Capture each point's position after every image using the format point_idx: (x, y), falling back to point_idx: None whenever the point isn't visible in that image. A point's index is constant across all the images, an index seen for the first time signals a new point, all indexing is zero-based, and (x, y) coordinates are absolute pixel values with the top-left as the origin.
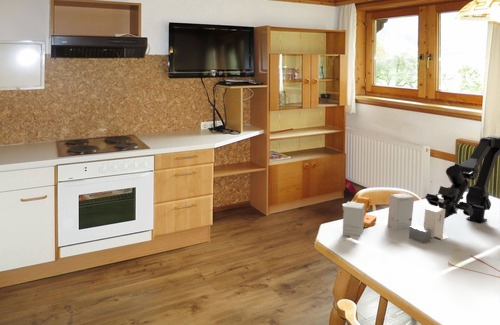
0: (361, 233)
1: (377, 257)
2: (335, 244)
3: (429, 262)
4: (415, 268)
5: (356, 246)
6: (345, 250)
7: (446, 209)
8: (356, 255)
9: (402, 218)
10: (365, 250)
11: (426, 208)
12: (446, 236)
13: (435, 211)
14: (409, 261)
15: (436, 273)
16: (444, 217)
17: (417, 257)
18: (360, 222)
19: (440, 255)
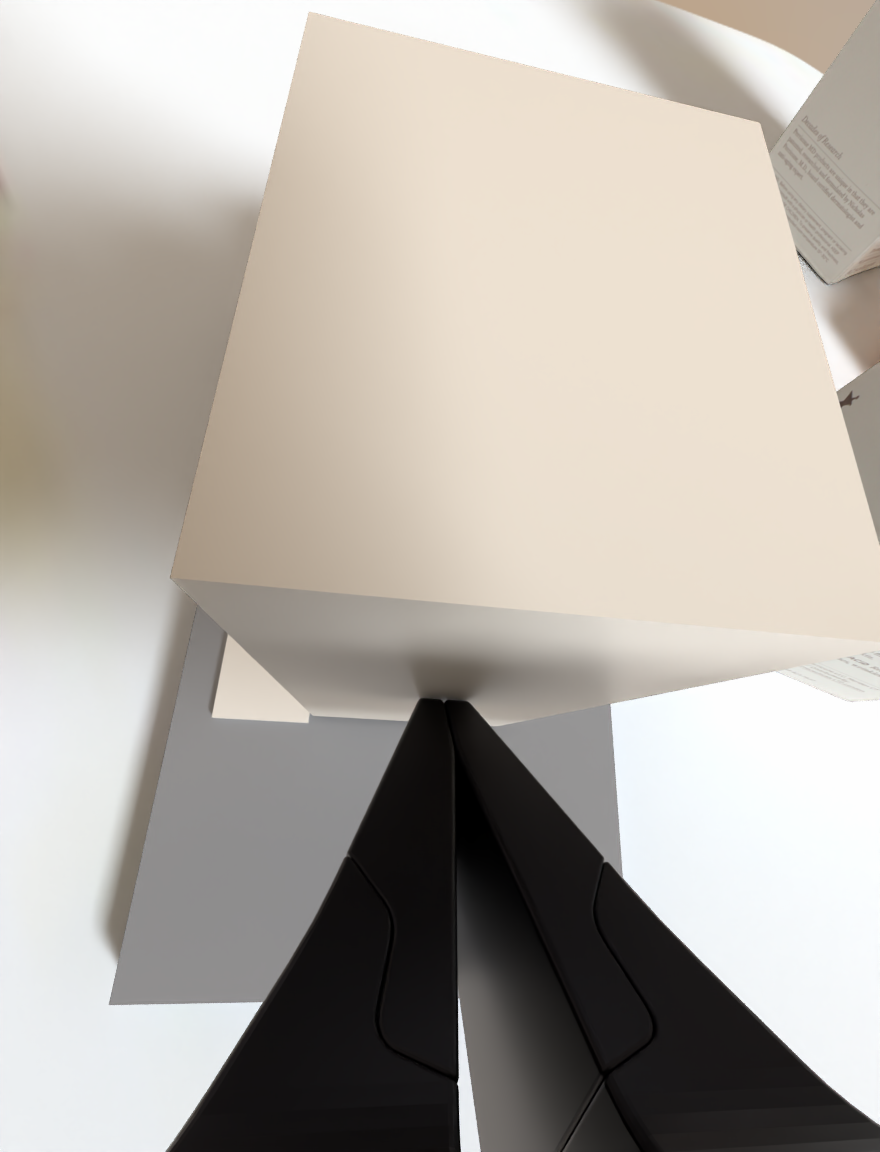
0: (788, 201)
1: (453, 28)
2: (724, 58)
3: (139, 111)
4: (181, 5)
5: (644, 87)
6: (631, 25)
7: (330, 1098)
8: (546, 3)
9: (866, 447)
10: (569, 69)
11: (764, 157)
12: (246, 713)
13: (379, 49)
14: (269, 64)
15: (19, 2)
16: (267, 667)
17: (259, 137)
18: (865, 17)
19: (116, 262)
